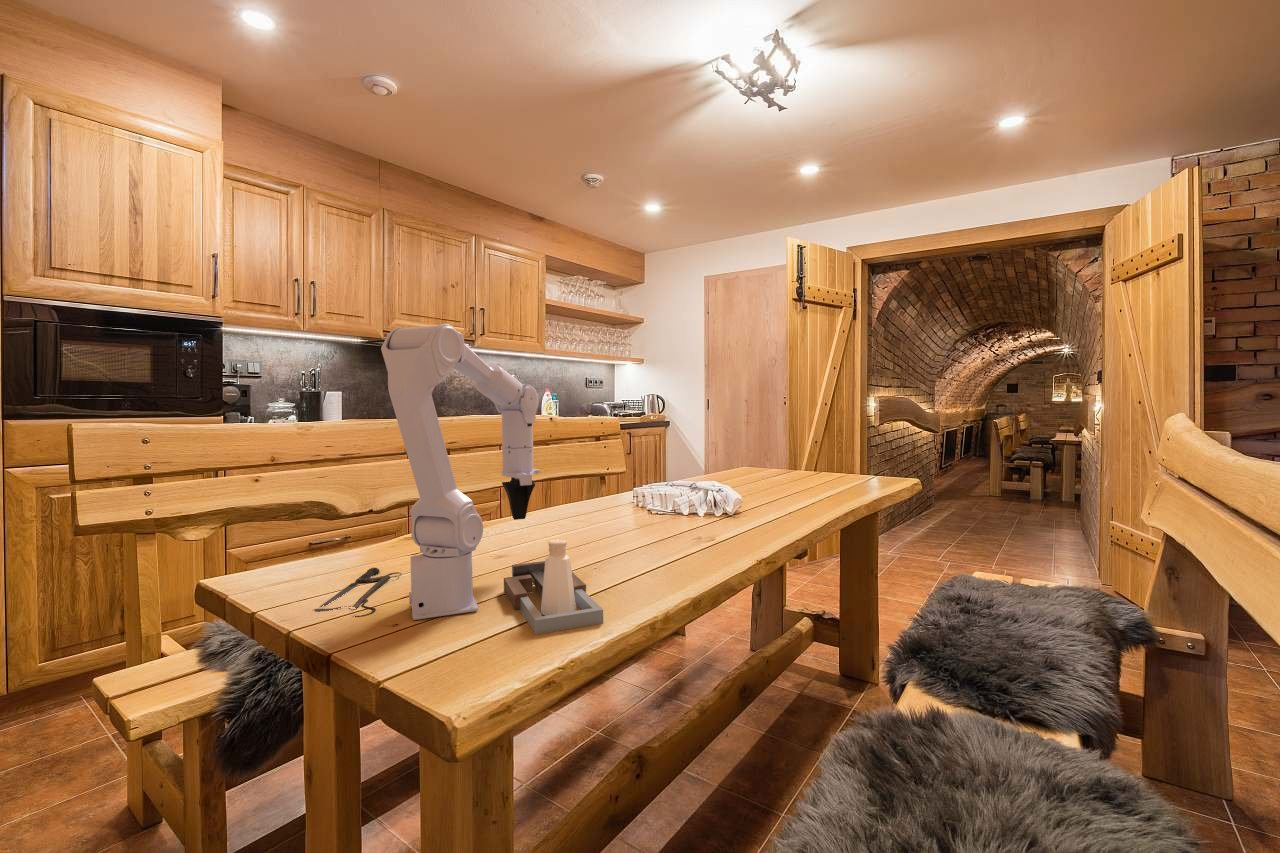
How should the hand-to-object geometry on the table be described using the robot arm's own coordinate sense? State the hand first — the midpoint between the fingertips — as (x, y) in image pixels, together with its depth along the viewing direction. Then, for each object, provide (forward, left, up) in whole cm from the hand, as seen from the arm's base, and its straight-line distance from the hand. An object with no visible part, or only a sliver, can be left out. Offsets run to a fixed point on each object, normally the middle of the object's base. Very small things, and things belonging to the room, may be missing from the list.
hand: (519, 518), depth 109 cm
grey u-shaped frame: (+1, -25, -10) cm, 27 cm away
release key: (+1, -15, -9) cm, 18 cm away
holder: (+1, -16, -10) cm, 19 cm away
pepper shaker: (+1, -23, -11) cm, 25 cm away
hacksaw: (-26, 0, -11) cm, 28 cm away
